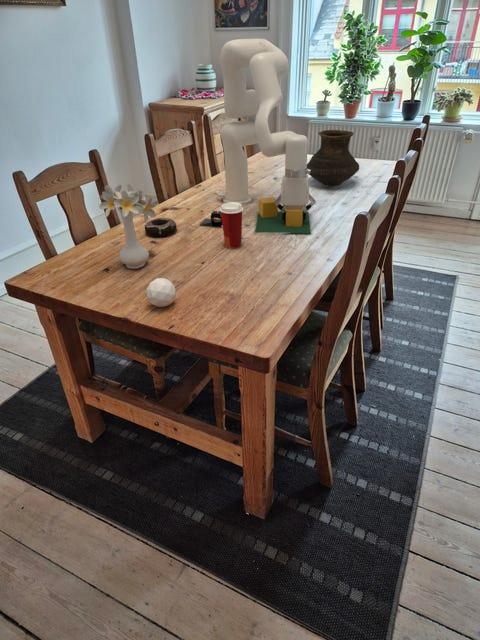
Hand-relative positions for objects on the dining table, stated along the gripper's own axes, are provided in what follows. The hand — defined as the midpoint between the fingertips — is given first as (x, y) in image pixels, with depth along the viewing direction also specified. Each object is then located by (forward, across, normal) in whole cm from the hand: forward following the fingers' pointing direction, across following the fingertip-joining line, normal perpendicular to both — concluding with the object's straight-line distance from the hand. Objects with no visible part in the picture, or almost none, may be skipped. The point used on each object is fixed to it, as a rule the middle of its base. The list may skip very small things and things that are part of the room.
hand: (293, 221), depth 165 cm
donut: (+2, +49, +8) cm, 50 cm away
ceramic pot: (+2, -18, -53) cm, 56 cm away
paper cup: (+2, +21, +19) cm, 28 cm away
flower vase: (+2, +50, +35) cm, 61 cm away
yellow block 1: (+1, +10, -9) cm, 14 cm away
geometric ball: (+2, +36, +59) cm, 69 cm away
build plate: (+2, +29, -1) cm, 29 cm away
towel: (+1, +4, -2) cm, 5 cm away
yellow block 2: (+1, 0, 0) cm, 1 cm away
